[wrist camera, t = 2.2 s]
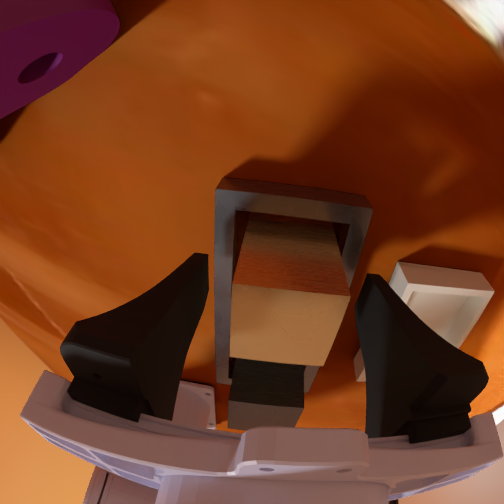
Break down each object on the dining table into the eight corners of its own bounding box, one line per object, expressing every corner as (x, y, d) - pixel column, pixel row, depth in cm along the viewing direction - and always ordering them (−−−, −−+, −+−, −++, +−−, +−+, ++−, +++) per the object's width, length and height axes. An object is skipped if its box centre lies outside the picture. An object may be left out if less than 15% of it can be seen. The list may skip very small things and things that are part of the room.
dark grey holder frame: (308, 376, 22) (308, 392, 20) (219, 366, 22) (216, 382, 21) (365, 196, 14) (373, 209, 12) (222, 177, 14) (215, 189, 13)
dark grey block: (292, 363, 21) (290, 434, 16) (239, 357, 21) (227, 427, 16) (303, 328, 19) (304, 407, 14) (242, 321, 19) (228, 400, 14)
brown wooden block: (315, 280, 17) (323, 366, 12) (246, 272, 17) (229, 356, 12) (330, 218, 15) (350, 296, 10) (251, 208, 15) (232, 283, 10)
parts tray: (428, 360, 20) (434, 379, 18) (353, 359, 20) (356, 381, 19) (481, 272, 15) (494, 291, 13) (397, 261, 15) (408, 283, 14)
